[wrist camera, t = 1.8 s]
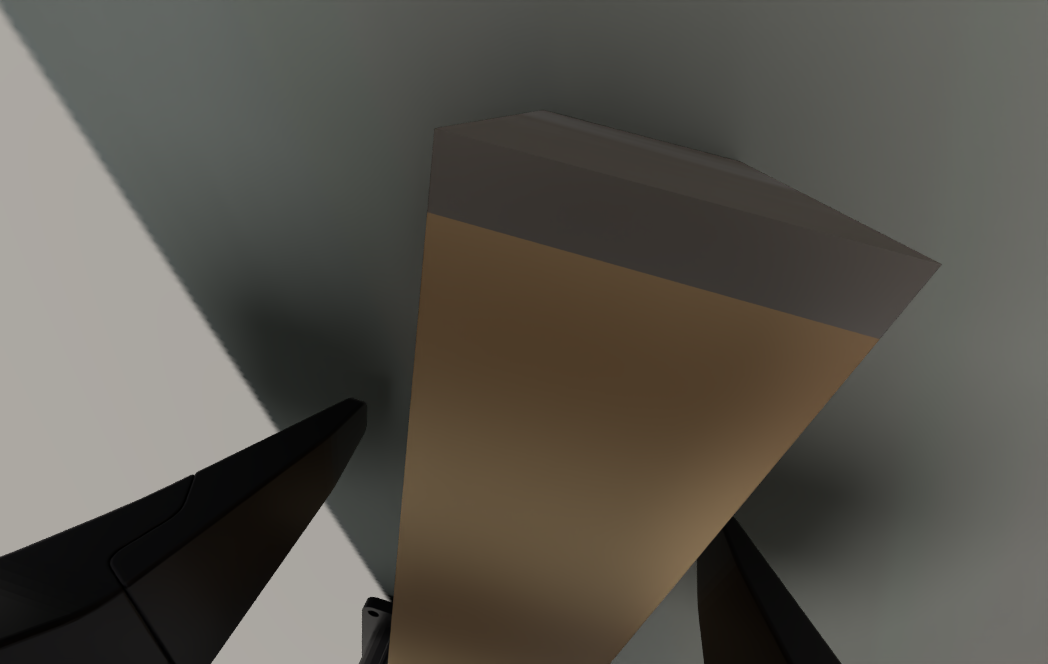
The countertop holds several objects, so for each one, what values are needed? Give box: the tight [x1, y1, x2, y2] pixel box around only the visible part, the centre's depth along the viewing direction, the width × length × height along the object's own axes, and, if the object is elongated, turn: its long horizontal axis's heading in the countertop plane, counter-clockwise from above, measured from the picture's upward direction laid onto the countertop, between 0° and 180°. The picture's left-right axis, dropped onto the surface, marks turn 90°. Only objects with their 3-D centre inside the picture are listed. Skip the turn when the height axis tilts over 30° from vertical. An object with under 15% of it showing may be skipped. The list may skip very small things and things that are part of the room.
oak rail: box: [388, 110, 942, 664], centre depth 9 cm, size 14×4×5 cm, turn 168°
